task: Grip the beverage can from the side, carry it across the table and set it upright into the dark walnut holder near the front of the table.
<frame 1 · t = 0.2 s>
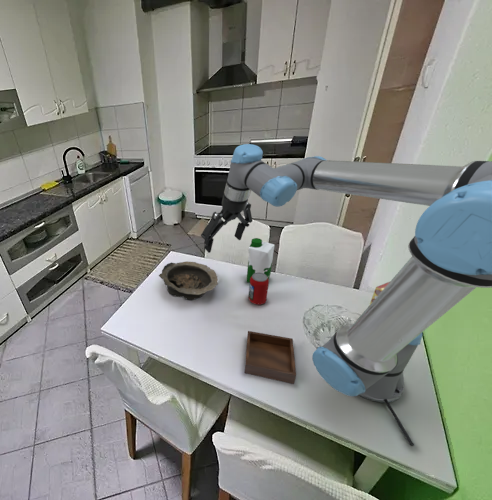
hand: (222, 244, 101), 27 cm above the table, tool tilted 15°, fingers open, 13 cm apart
milk carton: (257, 281, 122), on the table
stone bowl: (189, 288, 124), on the table
beverage can: (257, 300, 112), on the table
candy box: (377, 320, 96), on the table
holder: (268, 359, 89), on the table
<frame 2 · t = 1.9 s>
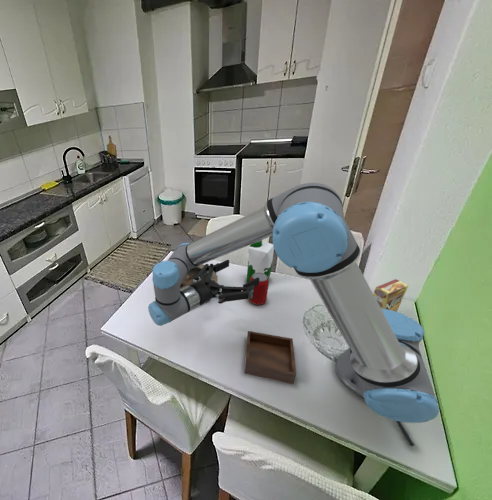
hand: (242, 271, 96), 20 cm above the table, tool horizontal, fingers open, 13 cm apart
nothing on the table moved.
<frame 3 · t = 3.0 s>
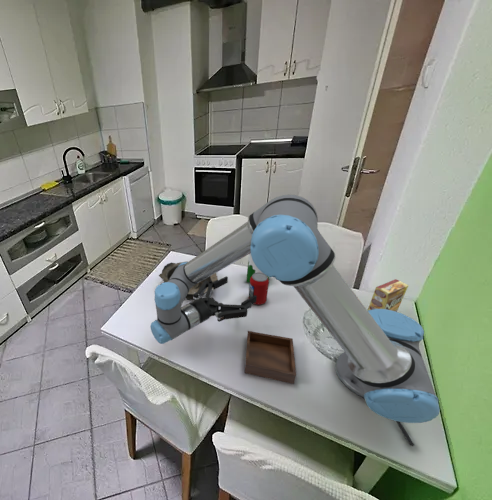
hand: (240, 288, 100), 13 cm above the table, tool horizontal, fingers open, 13 cm apart
nothing on the table moved.
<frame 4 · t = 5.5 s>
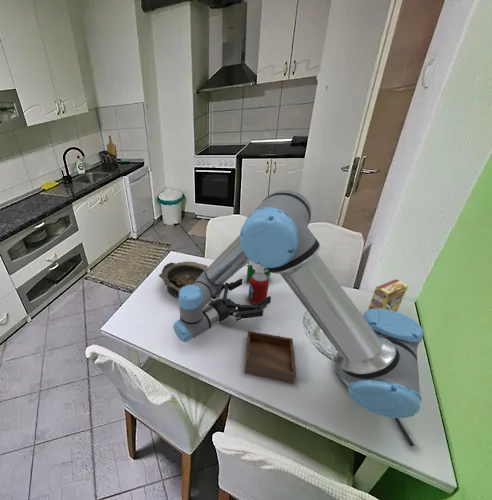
hand: (255, 289, 107), 7 cm above the table, tool horizontal, fingers open, 13 cm apart
nothing on the table moved.
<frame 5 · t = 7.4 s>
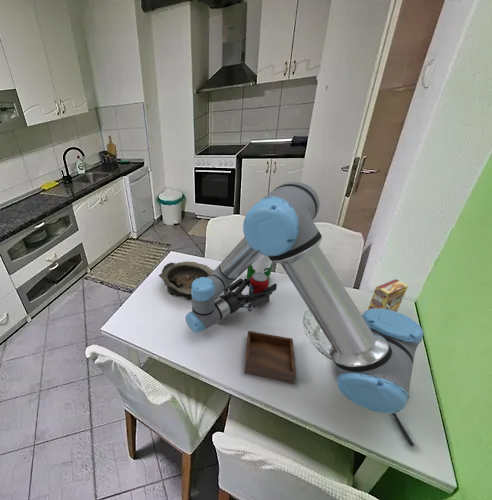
hand: (267, 281, 110), 7 cm above the table, tool horizontal, fingers closed on beverage can, 7 cm apart
beverage can: (257, 300, 112), on the table, touching gripper
everything else where it was.
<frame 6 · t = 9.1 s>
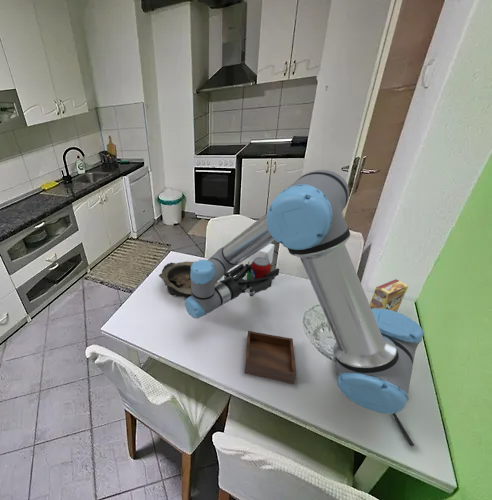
hand: (269, 267, 106), 14 cm above the table, tool horizontal, fingers closed on beverage can, 7 cm apart
beverage can: (258, 287, 108), point 7 cm above the table, touching gripper
everything else where it was.
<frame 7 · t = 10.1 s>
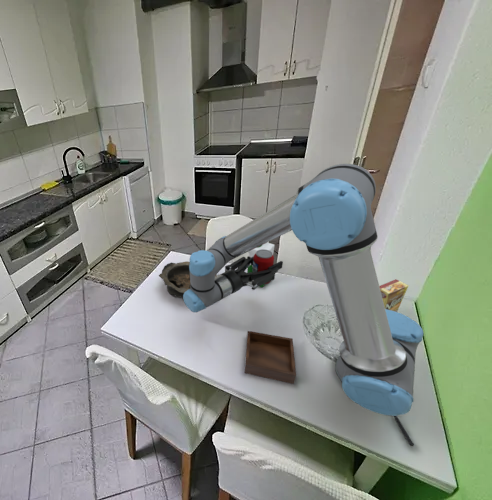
hand: (272, 260, 102), 19 cm above the table, tool horizontal, fingers closed on beverage can, 7 cm apart
beverage can: (261, 280, 103), point 12 cm above the table, touching gripper
everything else where it was.
when the fingers open (8 cm above the table, at t = 17.3 s): beverage can stays where it is, resting on holder.
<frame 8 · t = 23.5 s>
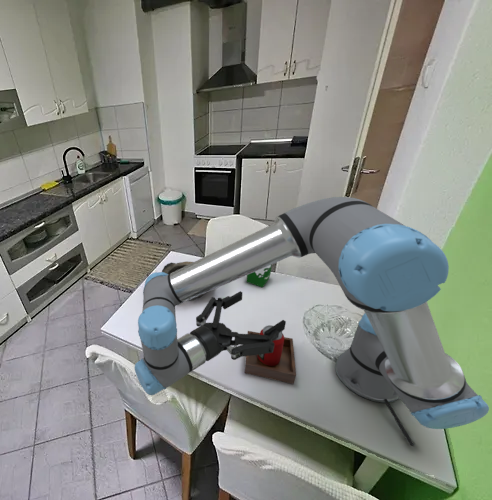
hand: (261, 308, 73), 26 cm above the table, tool horizontal, fingers open, 13 cm apart
beverage can: (268, 358, 88), point 1 cm above the table, touching holder
everything else where it was.
at the end: beverage can inside the target area in the holder (0.1 cm from its centre), point 0.6 cm above the holder's base; beverage can tilted 0°; the gripper is holding nothing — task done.
